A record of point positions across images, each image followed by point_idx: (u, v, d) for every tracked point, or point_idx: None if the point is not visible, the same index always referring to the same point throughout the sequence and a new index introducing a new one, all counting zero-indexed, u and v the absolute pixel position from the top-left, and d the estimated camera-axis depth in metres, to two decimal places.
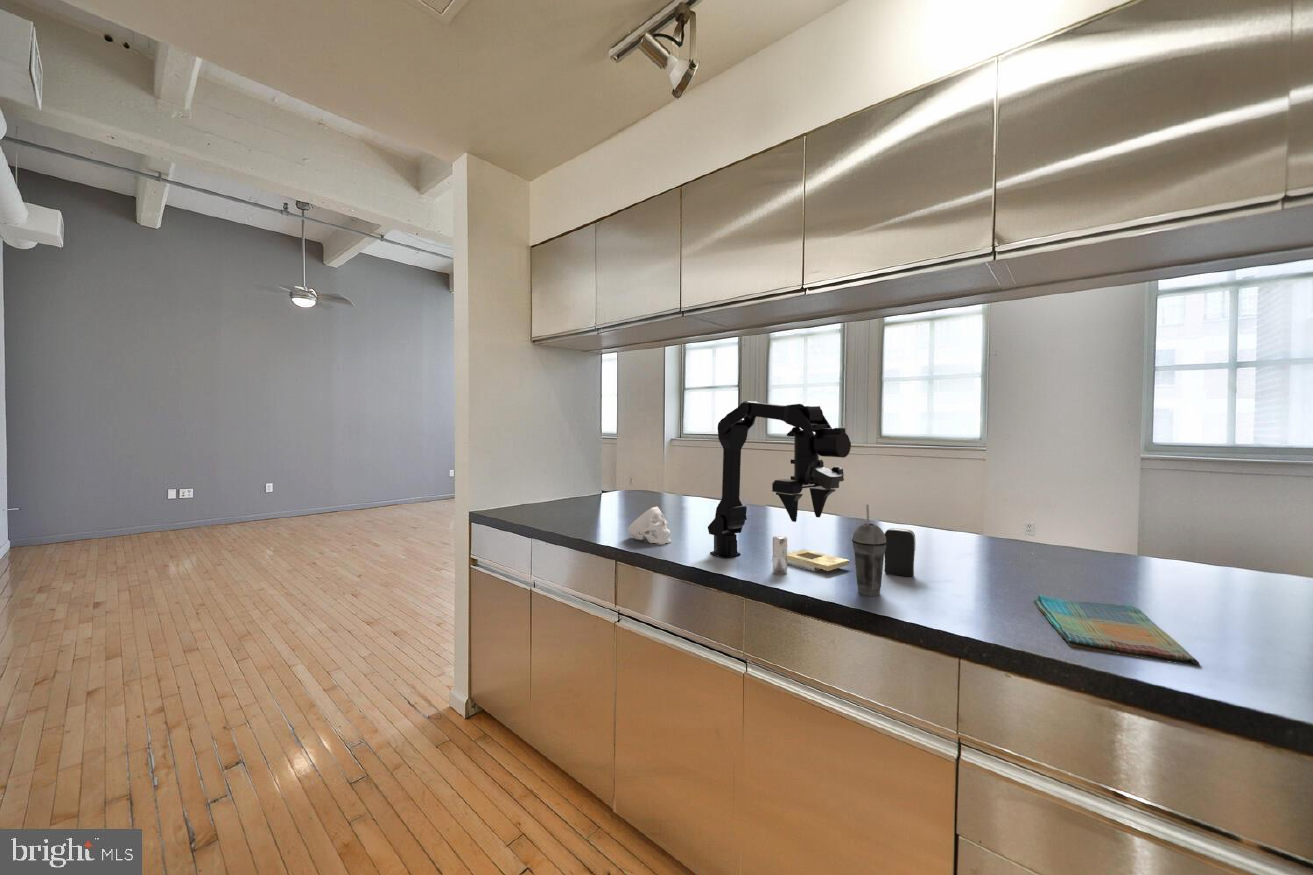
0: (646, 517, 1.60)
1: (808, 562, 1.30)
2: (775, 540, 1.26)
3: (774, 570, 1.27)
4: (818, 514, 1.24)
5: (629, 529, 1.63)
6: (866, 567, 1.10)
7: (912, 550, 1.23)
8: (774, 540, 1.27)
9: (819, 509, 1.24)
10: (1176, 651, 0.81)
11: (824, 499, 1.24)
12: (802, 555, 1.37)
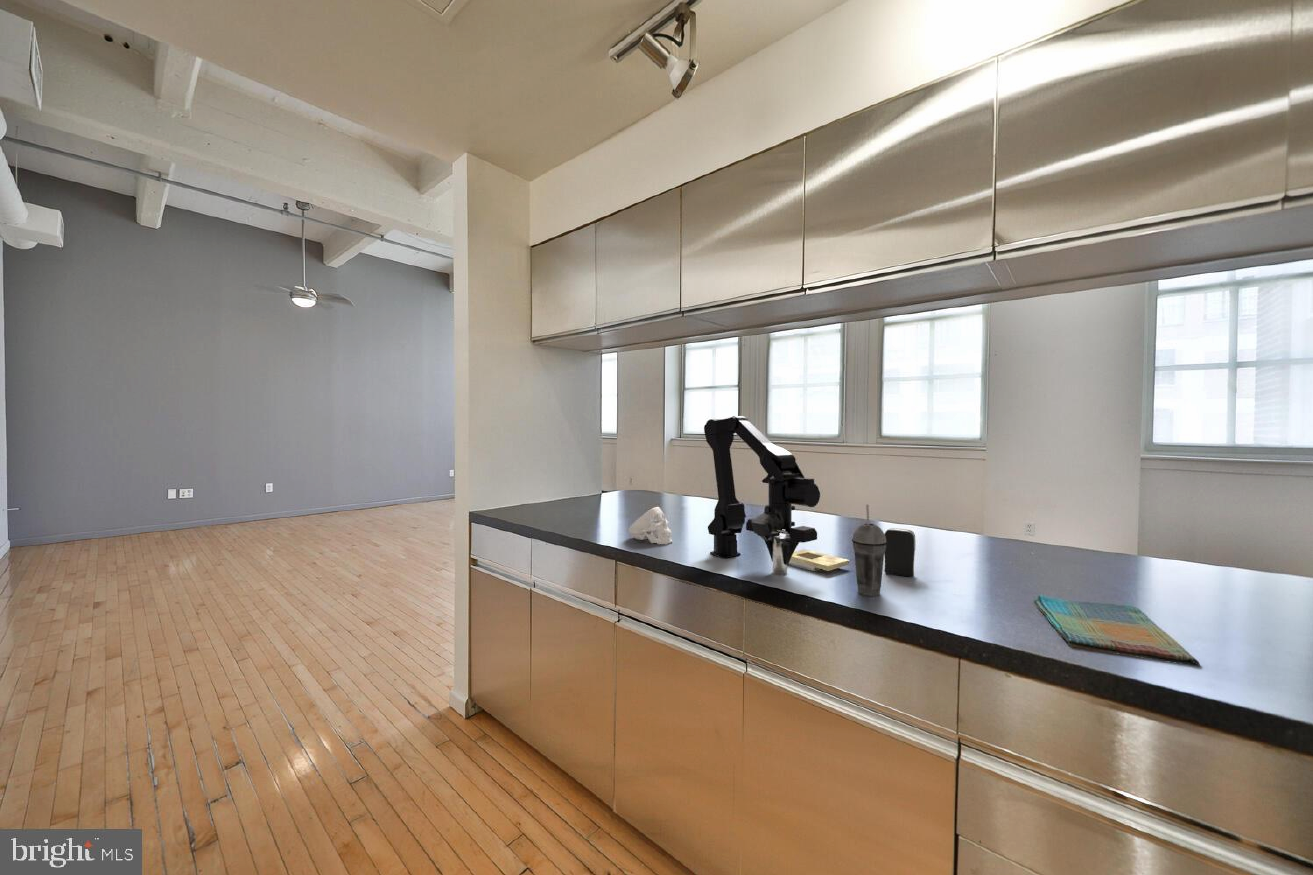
0: (647, 517, 1.59)
1: (808, 562, 1.30)
2: (775, 540, 1.26)
3: (774, 570, 1.27)
4: None
5: (630, 530, 1.63)
6: (866, 567, 1.10)
7: (912, 550, 1.23)
8: (774, 540, 1.27)
9: None
10: (1176, 651, 0.81)
11: (785, 547, 1.25)
12: (802, 555, 1.37)
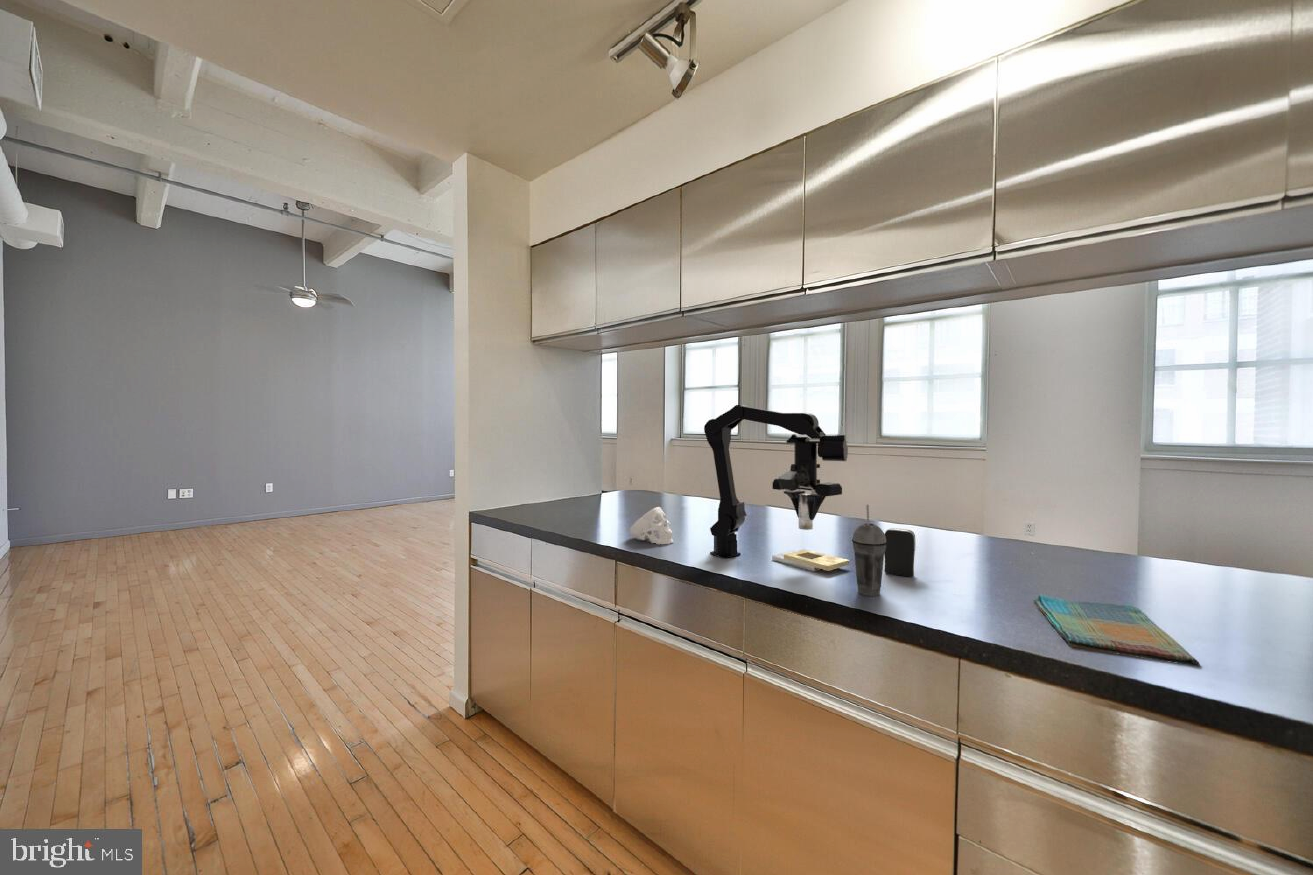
0: (648, 517, 1.59)
1: (808, 562, 1.30)
2: (801, 497, 1.32)
3: (800, 525, 1.32)
4: None
5: (631, 530, 1.63)
6: (866, 567, 1.10)
7: (912, 550, 1.23)
8: (800, 497, 1.32)
9: None
10: (1176, 651, 0.81)
11: (811, 503, 1.30)
12: (802, 555, 1.37)
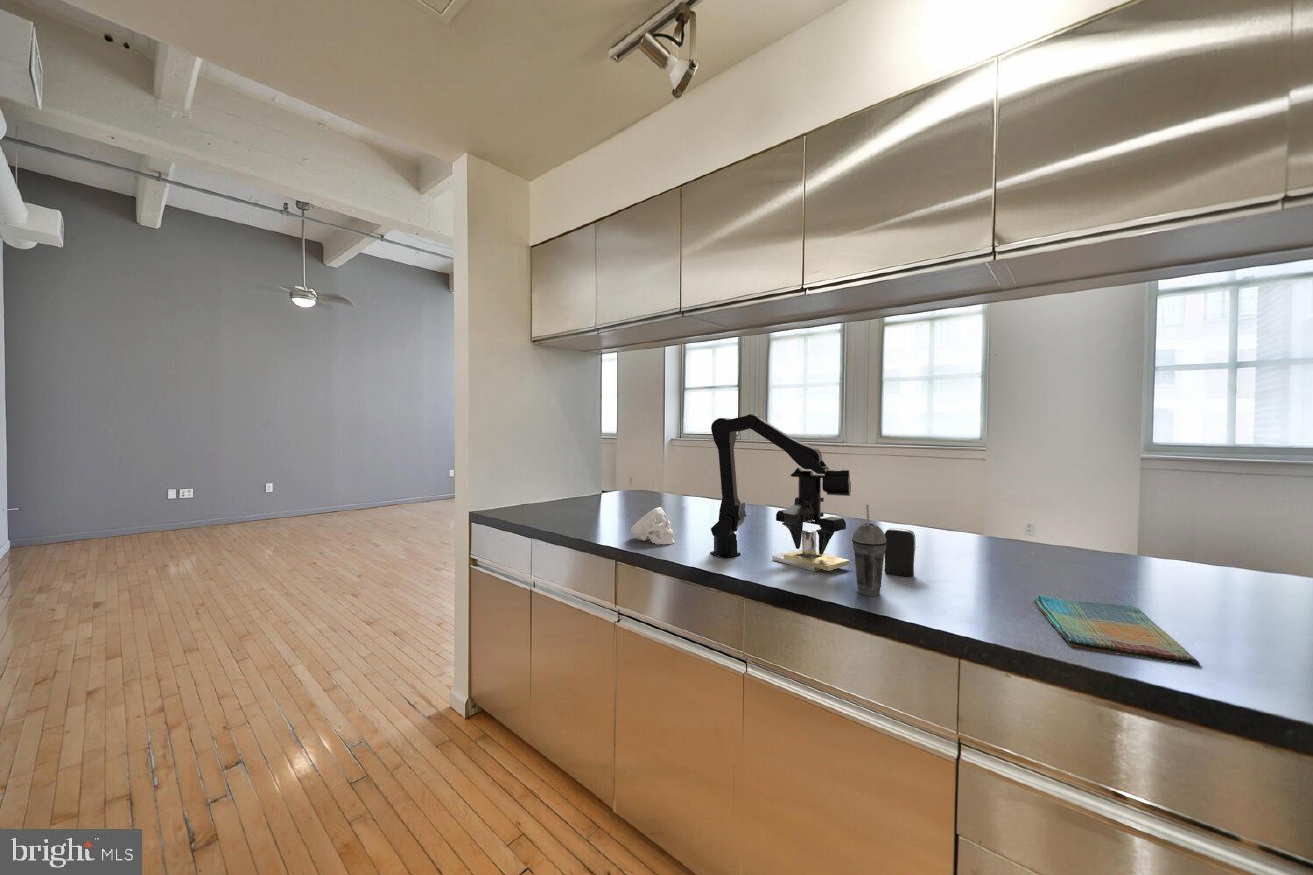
0: (649, 517, 1.59)
1: (808, 562, 1.30)
2: (805, 534, 1.34)
3: None
4: None
5: (632, 530, 1.62)
6: (866, 567, 1.10)
7: (912, 550, 1.23)
8: (804, 534, 1.34)
9: None
10: (1176, 651, 0.81)
11: (820, 538, 1.30)
12: None
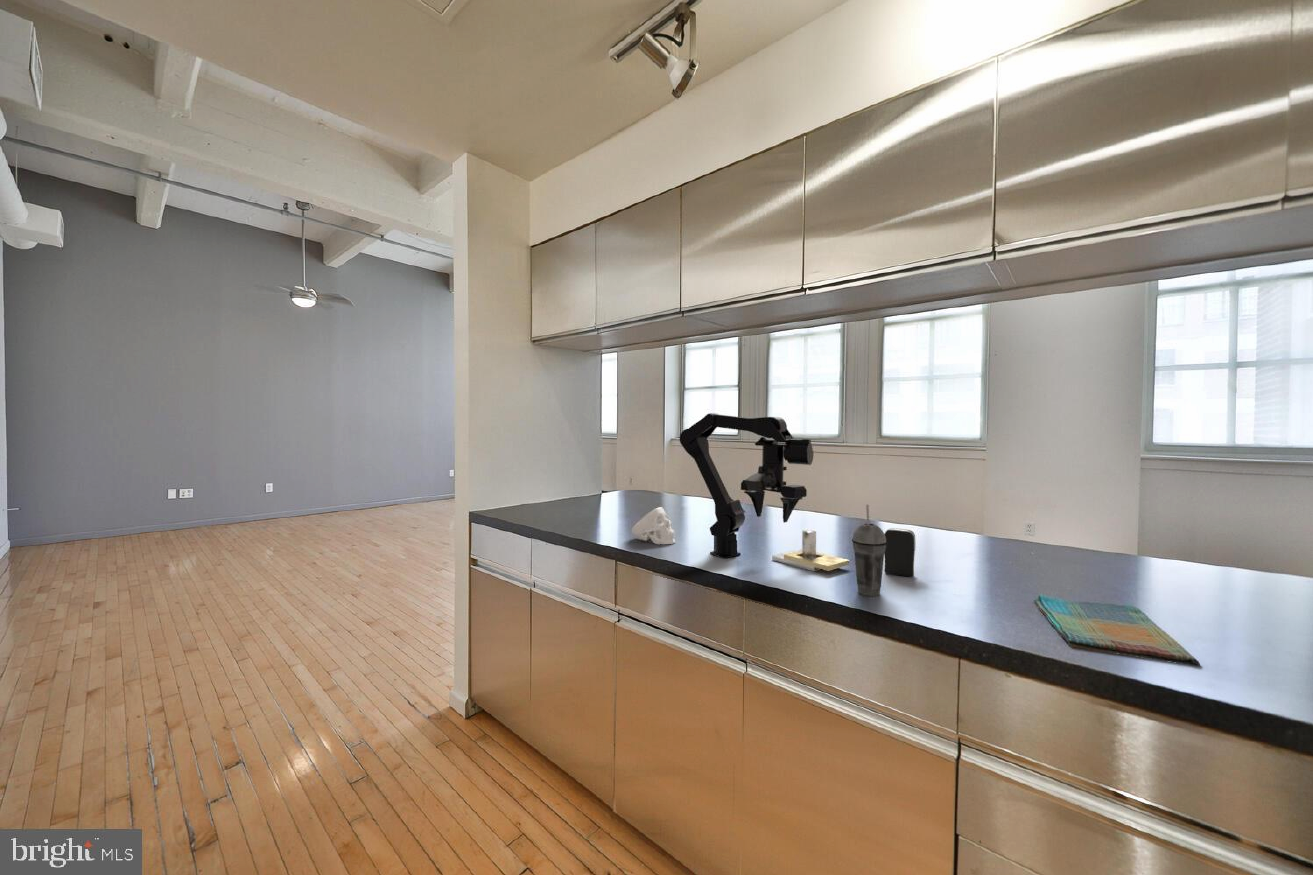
0: (650, 517, 1.59)
1: (808, 562, 1.30)
2: (805, 534, 1.34)
3: None
4: None
5: (633, 530, 1.62)
6: (866, 567, 1.10)
7: (912, 550, 1.23)
8: (804, 534, 1.34)
9: None
10: (1176, 651, 0.81)
11: (784, 506, 1.32)
12: None
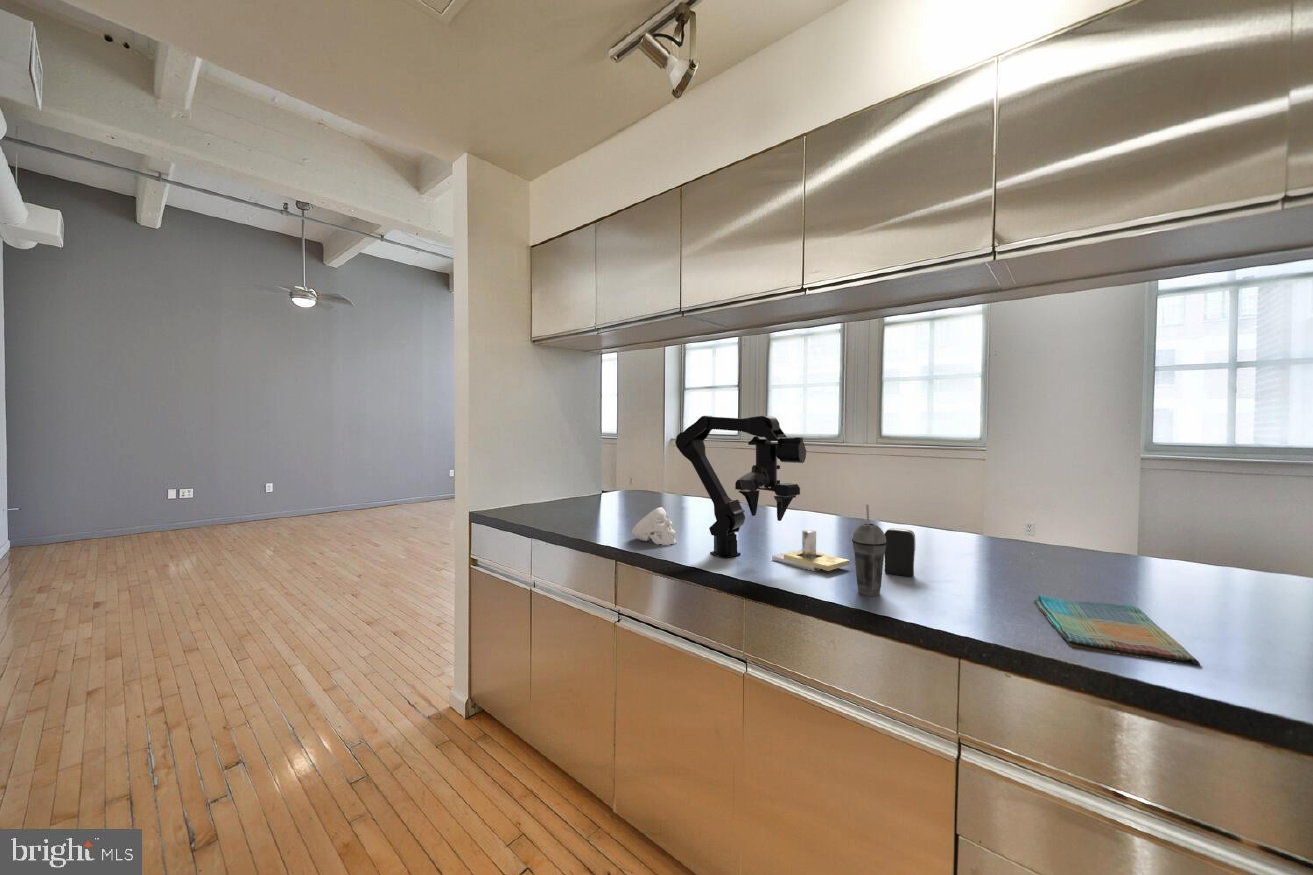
0: (651, 518, 1.58)
1: (808, 562, 1.30)
2: (805, 534, 1.34)
3: None
4: None
5: (634, 530, 1.62)
6: (866, 567, 1.10)
7: (912, 550, 1.23)
8: (804, 534, 1.34)
9: None
10: (1176, 651, 0.81)
11: (778, 504, 1.32)
12: None
